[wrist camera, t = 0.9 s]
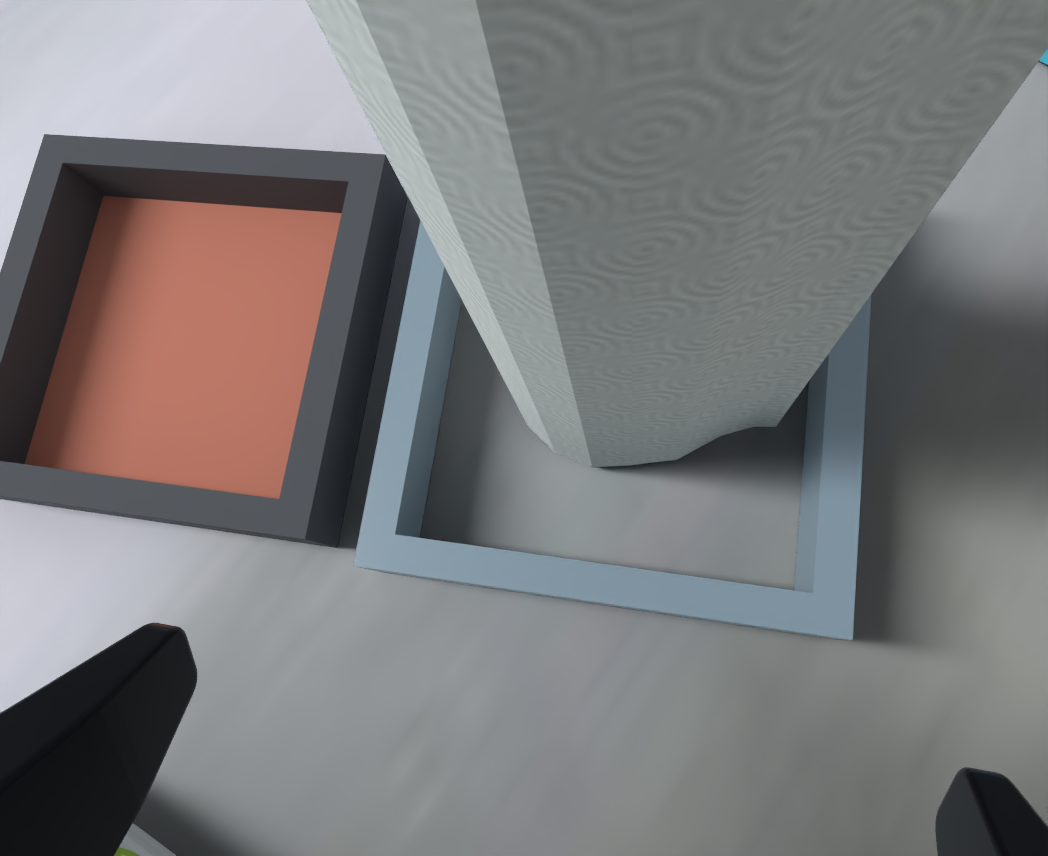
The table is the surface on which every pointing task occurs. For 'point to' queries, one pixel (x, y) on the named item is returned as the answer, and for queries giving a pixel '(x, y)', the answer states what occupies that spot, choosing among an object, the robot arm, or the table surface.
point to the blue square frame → (399, 549)
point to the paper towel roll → (674, 184)
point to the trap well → (194, 331)
